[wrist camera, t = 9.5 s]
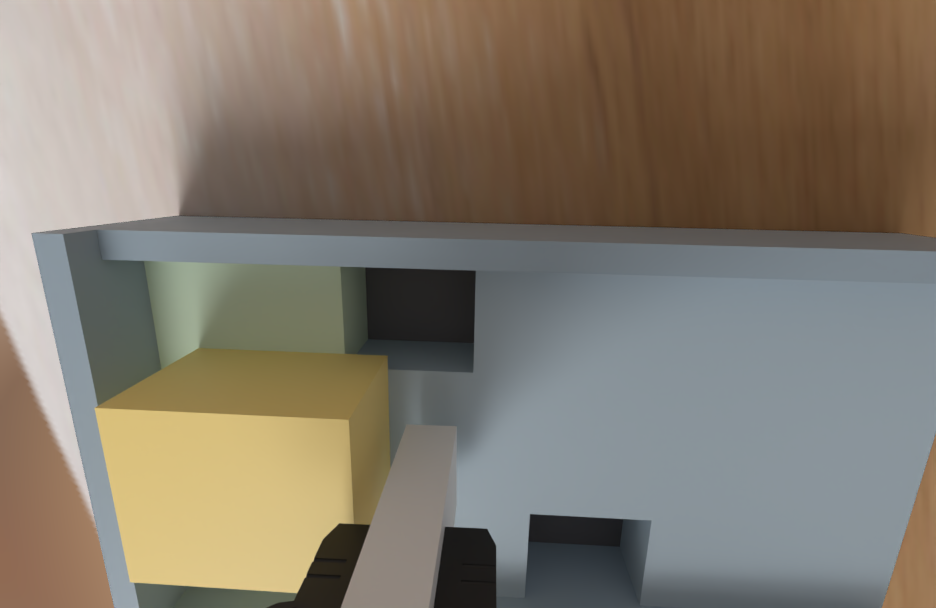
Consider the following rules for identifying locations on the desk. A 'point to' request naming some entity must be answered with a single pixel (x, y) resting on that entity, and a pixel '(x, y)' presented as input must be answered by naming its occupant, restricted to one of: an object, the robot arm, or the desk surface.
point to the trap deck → (562, 387)
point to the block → (244, 463)
